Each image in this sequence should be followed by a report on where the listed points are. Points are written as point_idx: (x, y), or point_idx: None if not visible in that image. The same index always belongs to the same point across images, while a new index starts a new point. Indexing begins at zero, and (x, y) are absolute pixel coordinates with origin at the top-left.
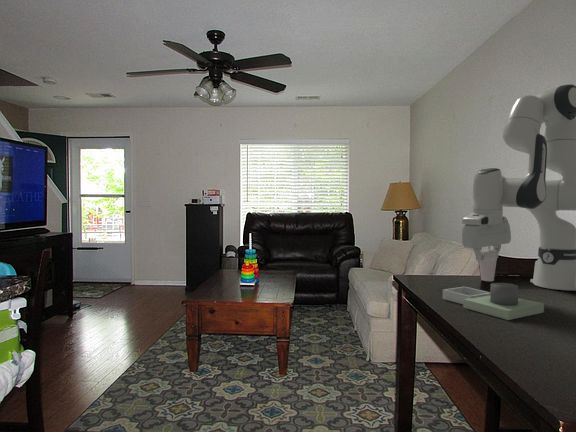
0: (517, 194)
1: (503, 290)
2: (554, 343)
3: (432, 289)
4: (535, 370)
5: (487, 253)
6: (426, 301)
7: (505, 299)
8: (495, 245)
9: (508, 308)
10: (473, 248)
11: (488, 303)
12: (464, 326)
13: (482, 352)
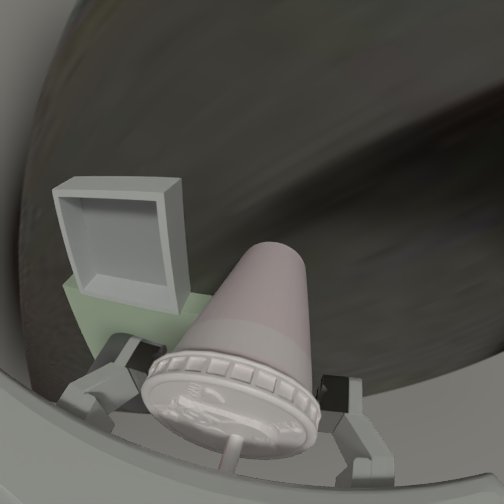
0: None
1: None
2: None
3: (149, 23)
4: (49, 389)
5: (168, 425)
6: (27, 177)
7: None
8: (342, 484)
9: None
10: (63, 395)
11: (96, 337)
12: (33, 322)
13: (26, 357)
